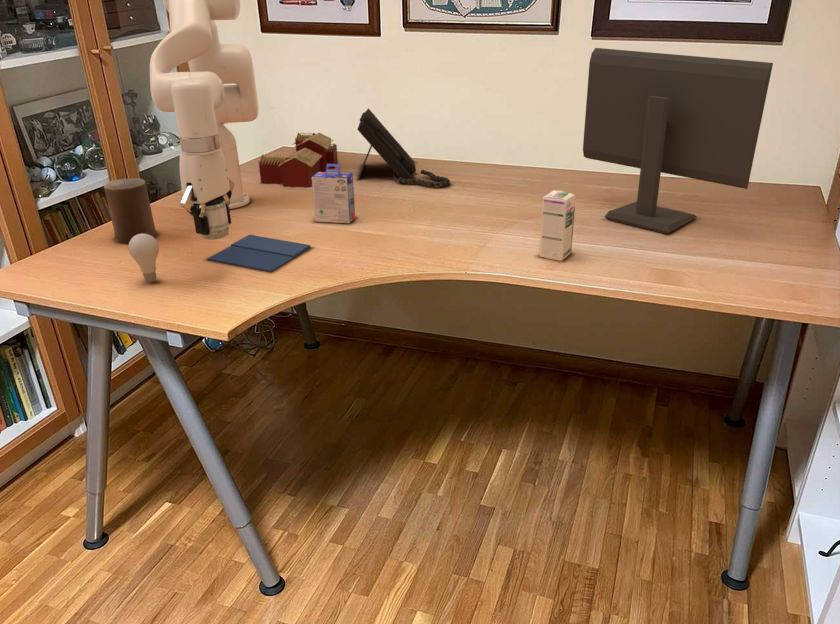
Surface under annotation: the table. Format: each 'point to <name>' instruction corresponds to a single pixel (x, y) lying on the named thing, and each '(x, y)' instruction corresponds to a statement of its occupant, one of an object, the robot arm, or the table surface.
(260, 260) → the cloth
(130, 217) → the pillar candle
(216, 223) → the camera lens
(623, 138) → the computer monitor
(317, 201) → the ink cartridge box
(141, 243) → the lightbulb
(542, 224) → the syrup box
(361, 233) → the table surface
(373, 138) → the office phone
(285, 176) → the toy houses
